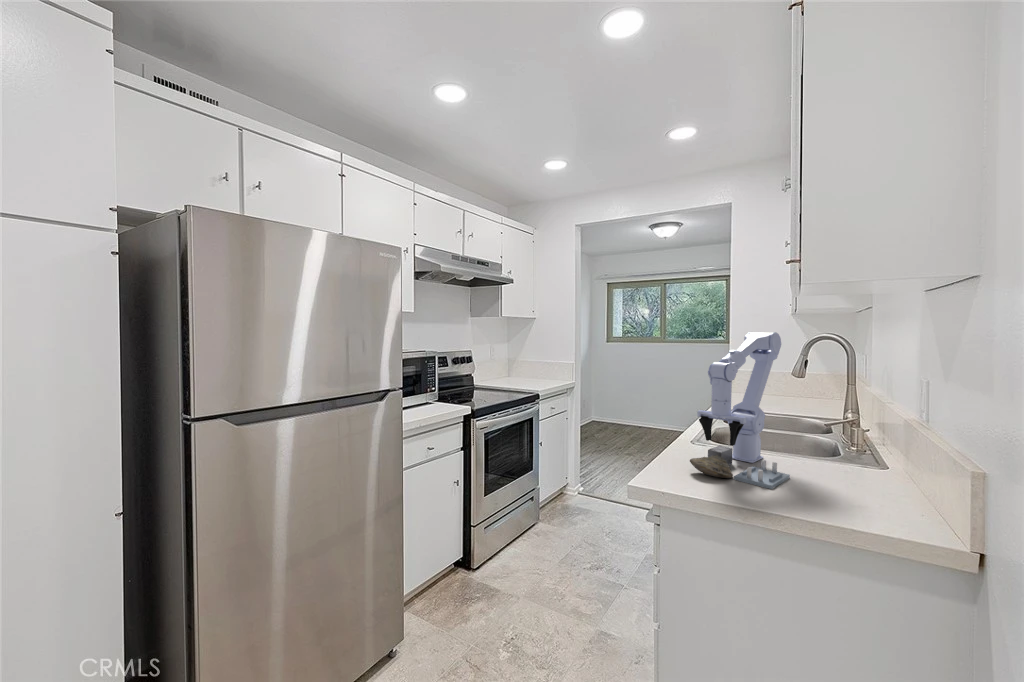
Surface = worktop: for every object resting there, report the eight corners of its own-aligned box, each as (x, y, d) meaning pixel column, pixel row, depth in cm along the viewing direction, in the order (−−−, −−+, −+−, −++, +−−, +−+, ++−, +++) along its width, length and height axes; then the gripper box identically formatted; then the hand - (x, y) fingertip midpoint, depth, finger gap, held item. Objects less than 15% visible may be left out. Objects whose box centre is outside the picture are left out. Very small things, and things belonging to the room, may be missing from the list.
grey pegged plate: (753, 469, 137) (753, 456, 137) (789, 478, 130) (789, 464, 130) (733, 479, 128) (734, 465, 128) (771, 489, 121) (772, 474, 120)
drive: (719, 461, 145) (719, 445, 145) (732, 465, 142) (732, 448, 142) (707, 466, 140) (707, 449, 140) (720, 470, 137) (721, 452, 137)
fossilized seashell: (726, 478, 124) (719, 453, 126) (689, 483, 130) (683, 459, 133) (737, 476, 132) (730, 452, 134) (702, 481, 138) (696, 458, 141)
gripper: (693, 398, 143) (692, 439, 144) (739, 404, 132) (738, 449, 133) (703, 396, 148) (702, 436, 148) (749, 402, 137) (748, 445, 137)
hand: (720, 442), depth 141 cm, fingers open, 7 cm apart
